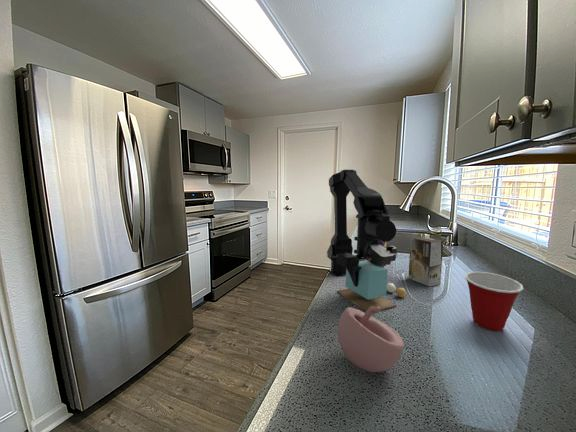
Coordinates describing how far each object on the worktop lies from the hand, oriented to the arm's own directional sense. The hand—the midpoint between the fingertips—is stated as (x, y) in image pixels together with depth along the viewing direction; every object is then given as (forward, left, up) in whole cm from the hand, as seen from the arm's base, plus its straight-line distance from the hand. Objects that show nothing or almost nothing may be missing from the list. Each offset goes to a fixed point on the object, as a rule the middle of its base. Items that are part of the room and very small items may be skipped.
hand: (365, 284), depth 72 cm
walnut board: (0, 0, -5) cm, 5 cm away
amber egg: (+4, +11, -5) cm, 13 cm away
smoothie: (-20, +24, -5) cm, 32 cm away
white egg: (0, +11, -5) cm, 12 cm away
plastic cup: (+24, +18, -5) cm, 30 cm away
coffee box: (-2, +30, -5) cm, 31 cm away
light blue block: (0, 0, -2) cm, 2 cm away
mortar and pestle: (+22, -19, -5) cm, 29 cm away
